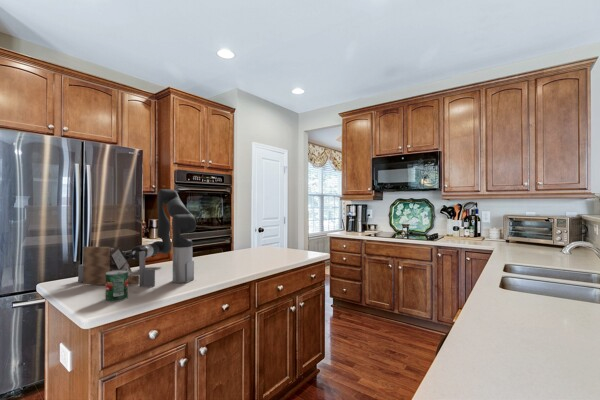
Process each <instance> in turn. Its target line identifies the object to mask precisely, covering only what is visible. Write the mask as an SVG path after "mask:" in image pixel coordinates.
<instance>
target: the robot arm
mask: <svg viewBox="0 0 600 400" xmlns="http://www.w3.org/2000/svg"><path fill="white" fill-rule="evenodd" d="M156 204H157V232H156V234H157V235H156V236H157V238H159V239H161V240H157V241H154V242H152V243H149V244H143V245H142V244H141V245H137V246H134V247H132V248H131V250H130V249H129V250H126V251H125V250H122V252H123V254H124V256H125V258H126V260H135V261H139V252H141V251H145V259H147V258H151V257H153V256H156V255H157V254H158V253H159V254H164V255H167V254H169V253H170V252H171V251H172V282H173V283H176V284H177V283H178V284H182V283H183V284H184V283H188V282H191V281H193V280H195V261H194V260H193V240H192V239H189V238H186V237H183V236H182V235H181V233H182V234H183V233H185V234H186V233H192V232H194V231H195V230H196V228H197V221H196V220H197V219H196V217H195V216H194V214H193V213H191V211H189V210H188V208H187V207H186V205H185V204H184V203H183V201H182V200H181V198H180V196H179V194H178V191H176V190H174V189H167V188H160V189H159V190H158V192H157V203H156ZM164 205H166V211H167V213H168V215H169V216H170V217H171V222H170V219H169V218H168V216H167V214H166V211H165V209H164ZM171 228H172V230H171ZM171 231H172V240H171V236H170V234H171Z"/></svg>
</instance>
